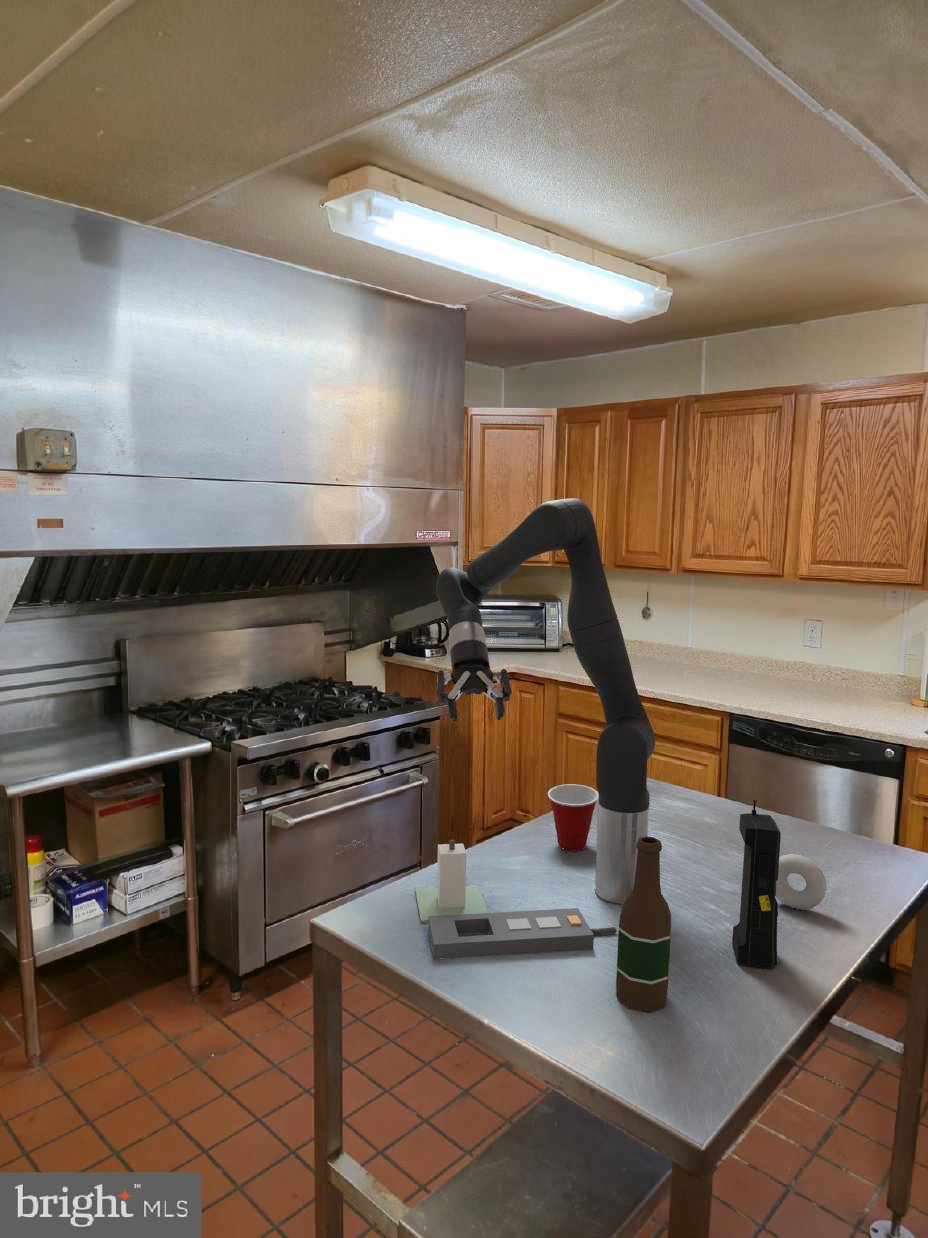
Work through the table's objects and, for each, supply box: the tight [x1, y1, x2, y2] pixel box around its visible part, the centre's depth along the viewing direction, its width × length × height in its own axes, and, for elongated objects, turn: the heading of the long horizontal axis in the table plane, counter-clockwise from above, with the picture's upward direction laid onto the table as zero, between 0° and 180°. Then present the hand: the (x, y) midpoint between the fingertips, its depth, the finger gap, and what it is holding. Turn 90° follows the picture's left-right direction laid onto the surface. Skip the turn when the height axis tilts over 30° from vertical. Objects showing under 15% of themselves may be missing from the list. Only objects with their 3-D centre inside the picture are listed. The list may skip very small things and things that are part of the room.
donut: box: [775, 853, 828, 911], centre depth 143 cm, size 10×4×10 cm, turn 54°
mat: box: [414, 885, 489, 924], centre depth 142 cm, size 12×12×1 cm
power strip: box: [427, 907, 618, 960], centre depth 131 cm, size 32×9×3 cm, turn 98°
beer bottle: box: [615, 836, 672, 1013], centre depth 114 cm, size 8×8×24 cm
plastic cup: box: [547, 783, 599, 852], centre depth 168 cm, size 11×11×12 cm
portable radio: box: [731, 799, 782, 970], centre depth 125 cm, size 8×6×25 cm
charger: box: [436, 839, 467, 908], centre depth 141 cm, size 5×4×12 cm
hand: (477, 718), depth 148 cm, fingers open, 8 cm apart
